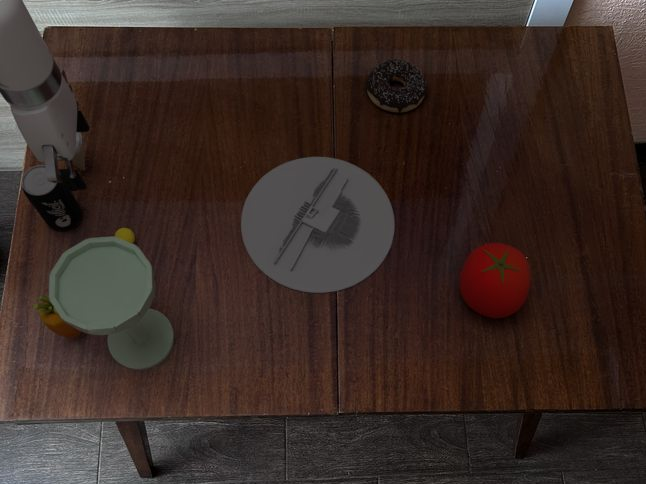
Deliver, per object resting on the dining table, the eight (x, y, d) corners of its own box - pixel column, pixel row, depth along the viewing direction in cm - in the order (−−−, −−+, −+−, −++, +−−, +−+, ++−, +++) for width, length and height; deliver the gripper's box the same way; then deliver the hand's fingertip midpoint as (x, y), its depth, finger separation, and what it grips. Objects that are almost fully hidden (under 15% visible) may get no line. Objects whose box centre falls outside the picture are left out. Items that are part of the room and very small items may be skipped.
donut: (377, 62, 139) (378, 47, 136) (433, 80, 138) (436, 66, 135) (358, 105, 136) (359, 91, 132) (416, 123, 135) (418, 110, 131)
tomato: (440, 278, 124) (455, 240, 111) (496, 255, 126) (517, 216, 113) (473, 338, 121) (492, 307, 107) (529, 314, 123) (555, 281, 109)
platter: (35, 311, 97) (29, 305, 95) (87, 230, 101) (82, 222, 99) (124, 350, 96) (119, 344, 93) (173, 266, 100) (169, 259, 98)
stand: (96, 354, 117) (51, 306, 97) (129, 300, 120) (91, 242, 101) (154, 380, 116) (120, 337, 96) (185, 324, 119) (159, 271, 100)
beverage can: (52, 238, 124) (24, 202, 112) (41, 208, 126) (14, 170, 114) (88, 225, 125) (64, 189, 114) (77, 196, 127) (53, 157, 115)
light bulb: (135, 231, 125) (136, 228, 121) (131, 264, 124) (131, 261, 121) (116, 228, 124) (116, 224, 120) (111, 261, 123) (111, 258, 120)
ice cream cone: (103, 169, 129) (76, 117, 115) (81, 186, 127) (52, 135, 113) (85, 153, 130) (57, 99, 116) (64, 169, 128) (32, 117, 114)
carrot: (90, 319, 119) (59, 282, 105) (92, 346, 117) (61, 312, 103) (61, 323, 119) (26, 287, 104) (62, 350, 117) (26, 317, 103)
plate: (292, 134, 133) (292, 130, 132) (421, 200, 129) (422, 197, 128) (211, 246, 124) (210, 243, 123) (346, 320, 121) (346, 318, 120)
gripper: (1, 20, 86) (54, 110, 102) (-11, 139, 81) (47, 213, 97) (62, 18, 86) (105, 107, 103) (55, 135, 81) (101, 210, 97)
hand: (77, 158), depth 100 cm, fingers open, 9 cm apart
